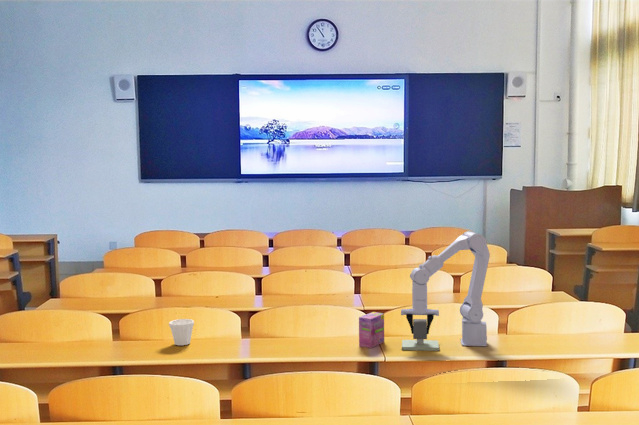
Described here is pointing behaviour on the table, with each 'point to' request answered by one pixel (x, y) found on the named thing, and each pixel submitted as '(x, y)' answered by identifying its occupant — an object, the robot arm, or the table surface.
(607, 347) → the table surface
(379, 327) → the box
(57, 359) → the table surface
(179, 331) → the cup
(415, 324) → the cap
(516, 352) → the table surface
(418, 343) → the post
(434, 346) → the board
